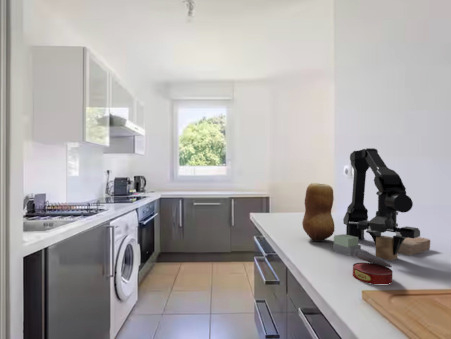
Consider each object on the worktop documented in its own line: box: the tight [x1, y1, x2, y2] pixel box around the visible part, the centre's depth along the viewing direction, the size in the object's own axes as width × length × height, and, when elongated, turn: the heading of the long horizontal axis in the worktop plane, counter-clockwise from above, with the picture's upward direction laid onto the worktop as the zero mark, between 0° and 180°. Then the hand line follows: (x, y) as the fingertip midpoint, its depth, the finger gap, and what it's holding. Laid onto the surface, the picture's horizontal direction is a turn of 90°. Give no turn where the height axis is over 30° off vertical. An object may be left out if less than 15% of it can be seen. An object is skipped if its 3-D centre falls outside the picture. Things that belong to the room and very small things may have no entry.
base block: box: [332, 243, 362, 256], centre depth 106 cm, size 7×7×3 cm
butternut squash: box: [301, 182, 335, 242], centre depth 123 cm, size 14×13×25 cm
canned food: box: [352, 248, 393, 285], centre depth 79 cm, size 11×10×10 cm
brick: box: [397, 236, 431, 256], centre depth 110 cm, size 17×8×5 cm, turn 122°
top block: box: [333, 233, 359, 247], centre depth 106 cm, size 6×6×3 cm
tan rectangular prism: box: [375, 234, 398, 261], centre depth 99 cm, size 5×5×7 cm
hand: (386, 253), depth 99 cm, fingers closed on tan rectangular prism, 5 cm apart
